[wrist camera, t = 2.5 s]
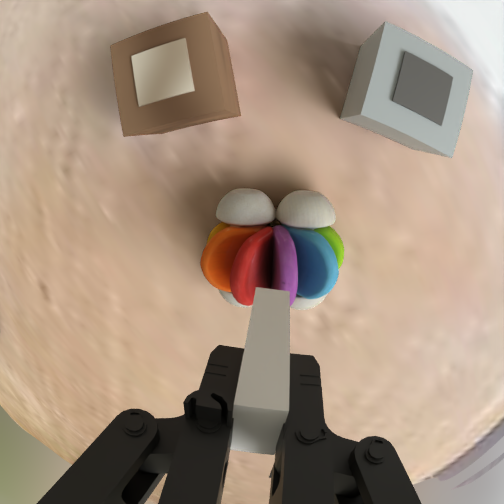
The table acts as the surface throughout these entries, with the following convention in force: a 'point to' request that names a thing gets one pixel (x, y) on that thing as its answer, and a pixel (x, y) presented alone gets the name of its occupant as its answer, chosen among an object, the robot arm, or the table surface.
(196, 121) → the walnut block
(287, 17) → the table surface
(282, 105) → the table surface
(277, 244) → the rainbow segmented toy
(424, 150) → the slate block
